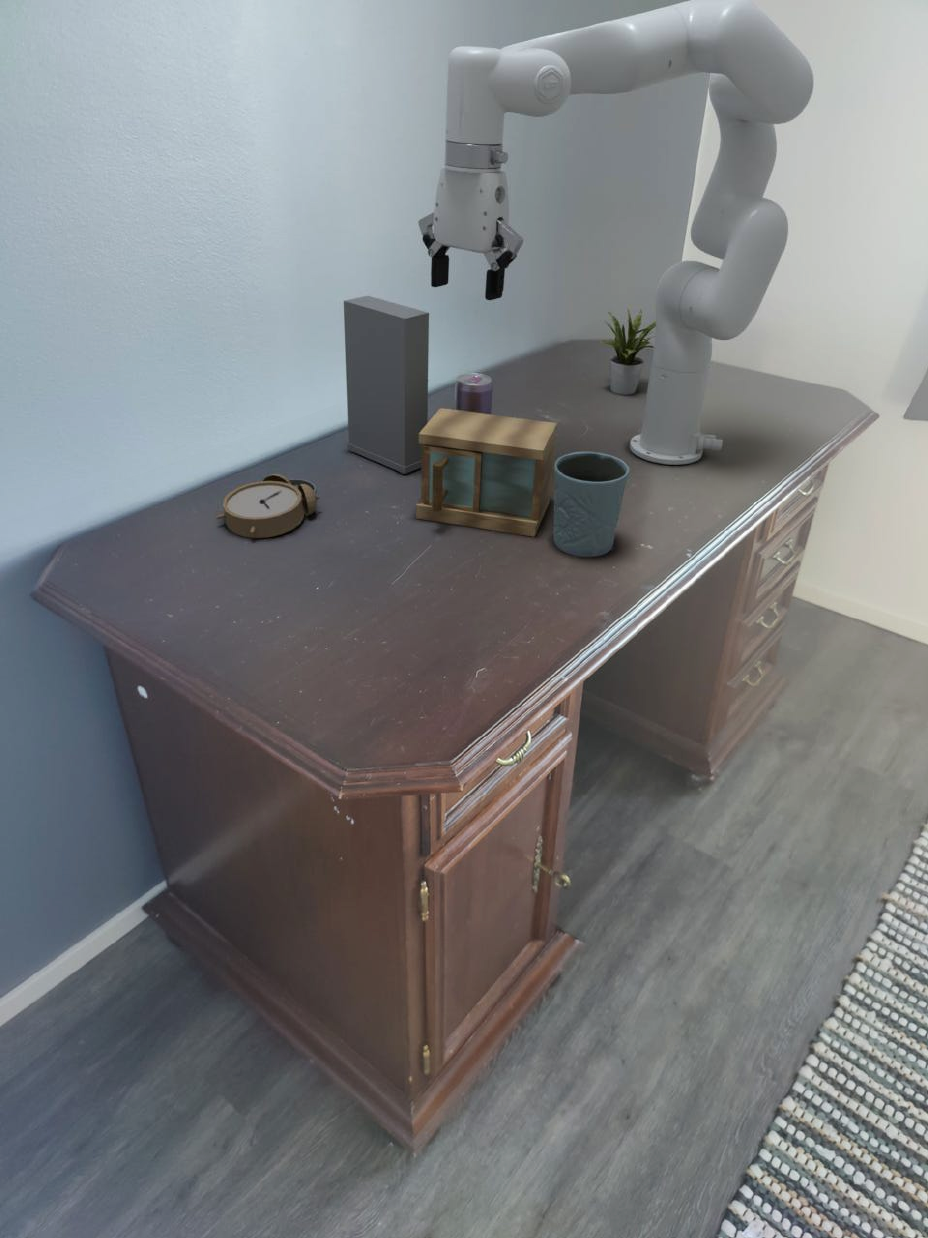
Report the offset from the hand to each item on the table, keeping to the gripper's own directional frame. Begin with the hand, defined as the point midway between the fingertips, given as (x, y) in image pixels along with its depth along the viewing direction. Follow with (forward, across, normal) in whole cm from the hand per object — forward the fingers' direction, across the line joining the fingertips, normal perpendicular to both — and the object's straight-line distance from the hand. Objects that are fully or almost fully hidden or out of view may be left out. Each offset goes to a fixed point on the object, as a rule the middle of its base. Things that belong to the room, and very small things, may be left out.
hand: (466, 291), depth 127 cm
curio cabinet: (+30, -9, +4) cm, 31 cm away
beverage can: (+30, +2, -7) cm, 31 cm away
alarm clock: (+31, +13, +27) cm, 43 cm away
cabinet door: (+28, -8, +12) cm, 32 cm away
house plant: (+29, +1, -58) cm, 65 cm away
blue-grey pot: (+30, -26, +4) cm, 40 cm away
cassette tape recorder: (+30, +15, -1) cm, 34 cm away
